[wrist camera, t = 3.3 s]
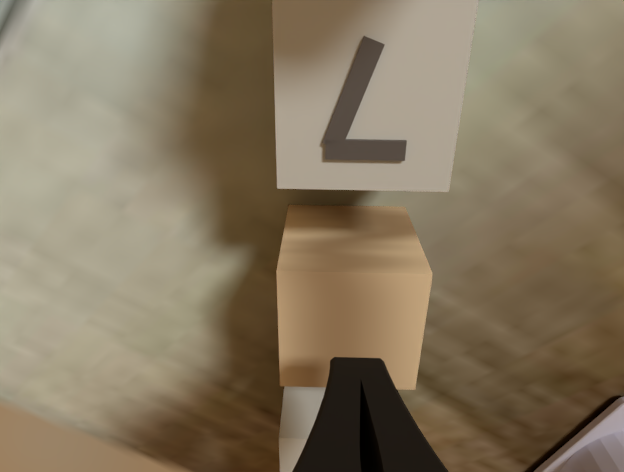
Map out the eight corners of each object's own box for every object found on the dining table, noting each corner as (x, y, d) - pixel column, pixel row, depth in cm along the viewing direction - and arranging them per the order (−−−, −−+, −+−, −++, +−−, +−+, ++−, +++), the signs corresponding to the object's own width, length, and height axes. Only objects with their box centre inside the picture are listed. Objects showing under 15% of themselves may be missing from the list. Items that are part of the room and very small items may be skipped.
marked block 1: (386, 347, 20) (404, 444, 16) (379, 417, 22) (393, 521, 18) (288, 345, 21) (278, 441, 16) (290, 415, 23) (281, 517, 18)
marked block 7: (430, 1, 14) (480, -4, 10) (414, 142, 16) (449, 193, 12) (288, -1, 14) (271, -5, 10) (290, 140, 16) (276, 190, 12)
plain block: (404, 206, 17) (432, 273, 13) (394, 302, 19) (415, 389, 15) (288, 204, 17) (276, 270, 13) (290, 299, 19) (280, 386, 15)
